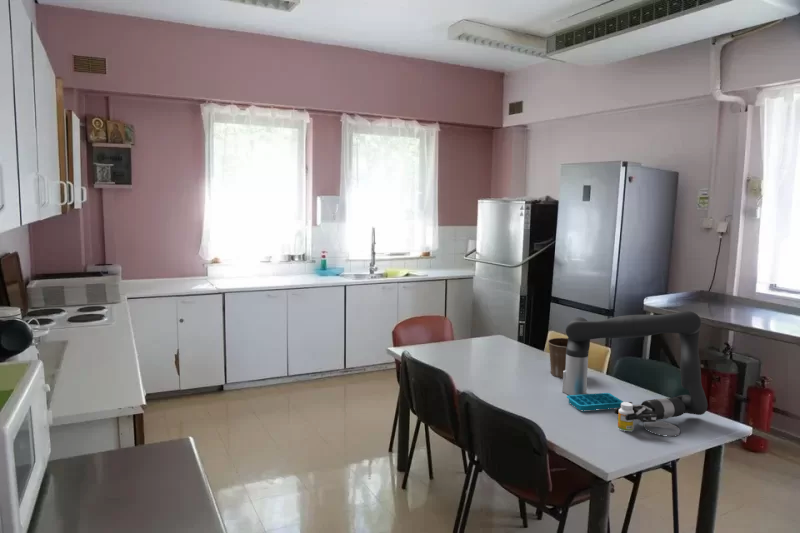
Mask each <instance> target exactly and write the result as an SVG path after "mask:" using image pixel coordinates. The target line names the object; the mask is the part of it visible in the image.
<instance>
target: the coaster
mask: <svg viewBox="0 0 800 533" xmlns="http://www.w3.org/2000/svg"><path fill="white" fill-rule="evenodd" d="M643 427H645V428H646V429H647V430H649V431H651V432H653V433H656V434H660V435H667V436H673V437H676V436H675V435H678V436H679V435H680V434H681V430H680V428H679V427H678V426H676V424H672V423H669V422H665V421H660V420H656V422H644V423H643ZM645 428H644V429H645ZM646 429H645V430H646ZM647 430H646V431H647ZM649 431H648V432H649ZM651 432H650V433H651ZM653 433H652V434H653ZM656 434H655V435H656ZM660 435H659V436H660ZM667 436H666V437H667Z"/></svg>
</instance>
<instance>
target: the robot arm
mask: <svg viewBox="0 0 800 533" xmlns="http://www.w3.org/2000/svg"><path fill="white" fill-rule="evenodd" d="M701 327H702V319H701V317H700V316H699V315H698V313H696V312H695V311H691V310H684V311H678V312H677V311H676V312H673V313H672V312H671V313H666V314H664V313H663V314H628V315H626V314H625V315H620V316H613V317H610V318H605V319H602V320H594V321H593V320H587V319H586V318H584V317H581V316H578V317H574V318H572V319H571V320H570V321H569V322H568V324H567V325H566V327H565V334H566V336H567V338H568V344H567V348H566V366H565V370H564V371H563V378H562V390H561V391H562V393H565V394H566V395H567V396H568V395H583V394H587V391H588V390H587V386H588V384H587V383H588V369H589V368H588V367H589V352H590V345H591V344H590V342H591V340H595V339H629V338H630V339H632V338H643V337H650V336H654V335H659V334H678V336H679V342H680V364H679V365H680V367H679V369H680V385H681V387H682V388H683V389H685V390H688V392H689V394H681V395H677V396H674V397H668V398H666V397H665V398H655V399H645V400H643V401H642V403H641V404H633V402H632V401H628V403H631V404H633V408H632V410H633V411H634V413H631V414H626V418H625V419H626V420H627V421H629V420H634V421H639V422H640V423H646V422H656V421H660V420H666V419H669V418H677V417H680V416H682V415H684V414H691V415H697V416H702V415H704V414H705V413H706V412H707V409H708V400H707V397H706V393H705V390H704V388H703V385H702V371H701V369H702V368H701V362H700V354H699V353H700V352H699V338H700V332H701ZM620 408H621V406H620V407H619V408H615V409H613V410H614V412H613V413H614V414H615V415H618V412H619V409H620Z"/></svg>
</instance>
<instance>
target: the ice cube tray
mask: <svg viewBox="0 0 800 533" xmlns="http://www.w3.org/2000/svg"><path fill="white" fill-rule="evenodd" d="M566 398H567V399H568V404H569V403H571V404H572V405H573V406H572V405H571V404H570V405H571V406H572V407H574V406H575V407H576V408H577V409H576V408H575V407H574V408H575V409H576V410H578V409H579V410H583V411H582V412H585V411H584V410H595V411H597V410H596V409H608V408H609V409H608V410H611V409H610V408H619V407H620V406H621V403H622V402H624V401H623V400H622V399H620V398H618V397H617V396H615V395H614V394H611V393H609V392H599V393H598V392H596V393H586V394H583V395H568V394H567V395H566ZM579 410H578V411H579Z"/></svg>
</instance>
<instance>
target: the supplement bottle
mask: <svg viewBox="0 0 800 533" xmlns="http://www.w3.org/2000/svg"><path fill="white" fill-rule="evenodd" d="M628 402H629V401H628ZM628 402H627V401H623V402H622V403H621V408H620V409H619V412H618V414H617V415H618V416H617V429H618V428H619V429H621V430H625V431H631V432H633V431H634V426H635V425H634V424H635V420H629V421H627V420H626V419H625V418H626V414H631V413H634V411H633V410H632V409H633V405H634V404H633V403H632V404H631V403H628ZM619 429H618V430H619ZM621 430H620V431H621ZM632 430H633V431H632ZM625 431H624V432H625Z"/></svg>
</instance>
